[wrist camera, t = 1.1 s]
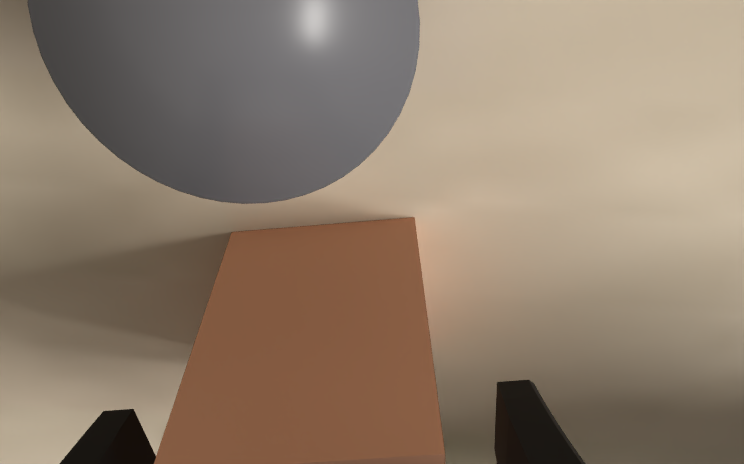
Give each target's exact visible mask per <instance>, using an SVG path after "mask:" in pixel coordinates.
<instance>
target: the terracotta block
mask: <svg viewBox="0 0 744 464" xmlns="http://www.w3.org/2000/svg"><path fill="white" fill-rule="evenodd" d="M154 464H445V449H444V441H443V434H442V426H441V418H440V411H439V403H438V395H437V387H436V380H435V372H434V364H433V357H432V349H431V341H430V334H429V326H428V318H427V311H426V303H425V295H424V287H423V280H422V272H421V264H420V257H419V249H418V241H417V234H416V226H415V218H414V217H411V218H399V219H387V220H374V221H362V222H350V223H337V224H325V225H313V226H300V227H288V228H276V229H263V230H251V231H239V232H232V233H231V236H230V239H229V242H228V245H227V248H226V250H225V253H224V256H223V259H222V262H221V265H220V268H219V271H218V274H217V277H216V280H215V283H214V286H213V289H212V292H211V295H210V298H209V301H208V304H207V307H206V310H205V313H204V316H203V319H202V322H201V325H200V328H199V331H198V334H197V337H196V340H195V343H194V346H193V349H192V352H191V355H190V358H189V361H188V364H187V366H186V369H185V372H184V375H183V378H182V381H181V384H180V387H179V390H178V393H177V396H176V399H175V402H174V405H173V408H172V411H171V414H170V417H169V420H168V423H167V426H166V429H165V432H164V435H163V438H162V441H161V444H160V447H159V450H158V453H157V456H156V459H155V462H154Z"/></svg>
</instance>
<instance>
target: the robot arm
mask: <svg viewBox="0 0 744 464" xmlns="http://www.w3.org/2000/svg"><path fill="white" fill-rule="evenodd" d="M495 454H496V460H497V464H585V463H584V461H583V460H582V458H581V457H580V456H579V454H578V453H577V451H576V450H575V449H574V447H573V446H572V444H571V443H570V441H569V440H568V438H567V437H566V435H565V434H564V432H563V431H562V429H561V428H560V426H559V425H558V423H557V422H556V420H555V418H554V417H553V415H552V414H551V412H550V410H549V409H548V407H547V406H546V404H545V402H544V401H543V399H542V397H541V395H540V394H539V392H538V390H537V388H536V386H535V385H534V383H532V382H531V381H530V380H519V381H506V382H497V398H496V423H495ZM155 459H156V456H155V454H154V452H153V449H152V447H151V445H150V443H149V441H148V439H147V437H146V435H145V432H144V430H143V428H142V426H141V424H140V422H139V420H138V418H137V416H136V413H135V411H134V409H127V410H114V411H103V412H102V414H101V415H100V416H99V417H98V418H97V419H96V421H95V422H94V423H93V424H92V425H91V426H90V428H89V429H88V430H87V431H86V432H85V434H84V435H83V436H82V437H81V438H80V440H79V441H78V442H77V443H76V445H75V446H74V447H73V448H72V449H71V451H70V452H69V453H68V454H67V455H66V457H65V458H64V459H63V460H62V461H61V463H60V464H154V462H155Z"/></svg>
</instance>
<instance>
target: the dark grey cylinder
mask: <svg viewBox="0 0 744 464" xmlns="http://www.w3.org/2000/svg"><path fill="white" fill-rule="evenodd" d="M28 8H29V13H30V18H31V23H32V27H33V32H34V35H35V38H36V41H37V44H38V47H39V50H40V53H41V56H42V58H43V61H44V63H45V65H46V67H47V69H48V71H49V73H50V76H51V78H52V80H53V82H54V83H55V85H56V87H57V88H58V90H59V91H60V93H61V95H62V96H63V98H64V100H65V101H66V103H67V104H68V106H69V107H70V108H71V109H72V111H73V112H74V113H75V115H76V116H77V117H78V119H79V120H80V121H81V122H82V124H83V125H84V126H85V127H86V128H87V129H88V130H89V131H90V132H91V133H92V134H93V135H94V136H95V137H96V138H97V139H98V140H99V141H100V142H101V143H102V144H103V145H104V146H105V147H107V148H108V149H109V150H110V151H111V152H112V153H114V154H115V155H116V156H117V157H118V158H120V159H121V160H123V161H124V162H126V163H127V164H128V165H130V166H131V167H133V168H134V169H136V170H137V171H139V172H141V173H142V174H144V175H146V176H148V177H150V178H151V179H153V180H155V181H157V182H159V183H161V184H164V185H166V186H168V187H171V188H173V189H175V190H178V191H181V192H184V193H187V194H190V195H194V196H197V197H200V198H205V199H210V200H215V201H220V202H230V203H242V204H248V203H269V202H276V201H283V200H288V199H291V198H295V197H299V196H303V195H306V194H309V193H311V192H314V191H316V190H319V189H321V188H324V187H326V186H328V185H329V184H331V183H333V182H335V181H337V180H338V179H340V178H342V177H344V176H345V175H346V174H348V173H349V172H350V171H352V170H353V169H354V168H356V167H357V166H359V165H360V164H361V163H362V162H363V161H364V160H365V159H366V158H367V157H368V156H369V155H370V154H371V153H372V152H373V151H374V150H375V149H376V148H377V147H378V146H379V144H380V143H381V142H382V141H383V139H384V138H385V137H386V136H387V134H388V133H389V132H390V130H391V128H392V127H393V125H394V123H395V122H396V120H397V118H398V117H399V115H400V113H401V111H402V108H403V106H404V104H405V101H406V99H407V97H408V95H409V92H410V88H411V85H412V81H413V78H414V74H415V71H416V64H417V58H418V51H419V31H420V19H419V10H418V1H417V0H28Z"/></svg>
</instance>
